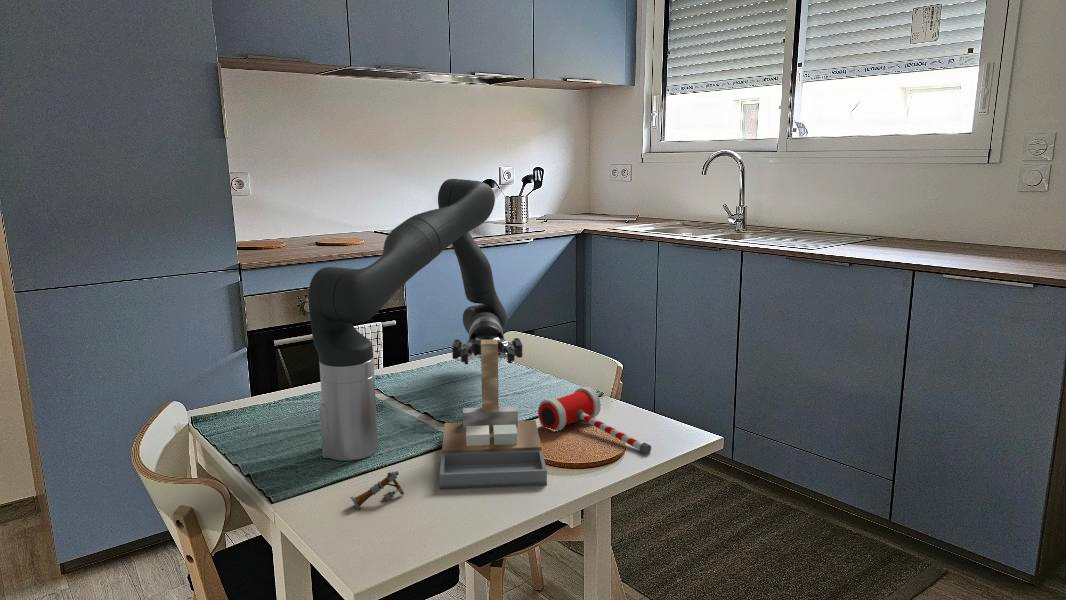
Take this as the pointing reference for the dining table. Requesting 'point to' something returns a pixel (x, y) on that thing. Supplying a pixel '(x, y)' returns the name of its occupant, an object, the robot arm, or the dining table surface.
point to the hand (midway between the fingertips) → (488, 359)
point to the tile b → (504, 434)
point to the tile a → (477, 435)
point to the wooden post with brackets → (376, 488)
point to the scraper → (490, 393)
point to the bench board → (490, 439)
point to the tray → (492, 469)
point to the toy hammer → (581, 415)
